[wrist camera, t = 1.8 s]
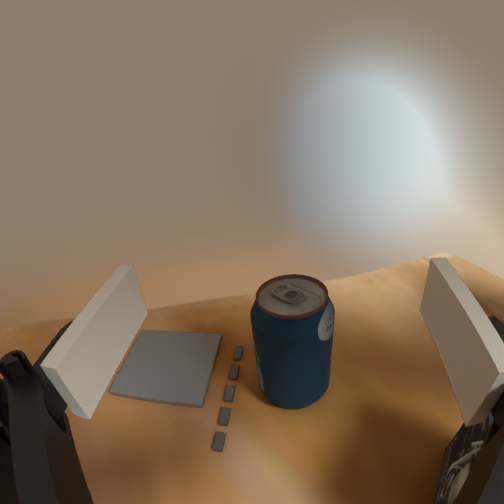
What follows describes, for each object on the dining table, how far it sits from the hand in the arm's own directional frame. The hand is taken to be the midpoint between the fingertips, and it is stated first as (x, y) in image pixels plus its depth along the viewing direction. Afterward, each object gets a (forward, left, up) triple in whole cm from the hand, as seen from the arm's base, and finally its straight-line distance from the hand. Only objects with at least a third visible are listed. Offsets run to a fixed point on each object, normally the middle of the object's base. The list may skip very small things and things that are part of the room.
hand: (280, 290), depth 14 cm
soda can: (0, -10, -19) cm, 22 cm away
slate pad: (+14, -12, -19) cm, 27 cm away
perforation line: (+6, -9, -19) cm, 22 cm away
